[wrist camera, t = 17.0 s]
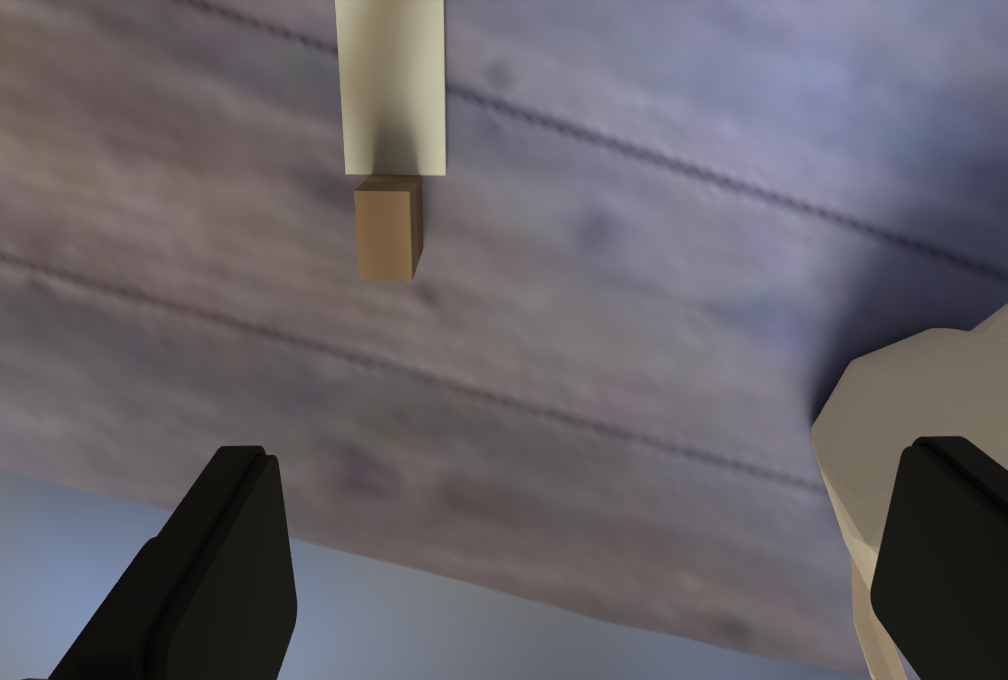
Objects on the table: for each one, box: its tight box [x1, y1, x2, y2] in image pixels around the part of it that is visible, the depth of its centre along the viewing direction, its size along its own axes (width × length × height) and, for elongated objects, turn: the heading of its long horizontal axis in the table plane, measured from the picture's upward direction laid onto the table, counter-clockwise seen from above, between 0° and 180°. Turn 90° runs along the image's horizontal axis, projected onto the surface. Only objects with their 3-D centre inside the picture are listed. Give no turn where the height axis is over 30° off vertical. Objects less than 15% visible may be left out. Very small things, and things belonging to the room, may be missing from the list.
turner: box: [335, 0, 446, 280], centre depth 32 cm, size 5×16×6 cm, turn 179°
